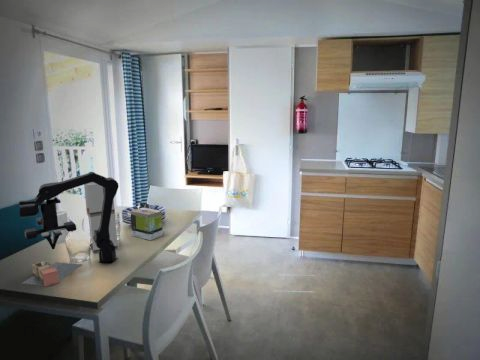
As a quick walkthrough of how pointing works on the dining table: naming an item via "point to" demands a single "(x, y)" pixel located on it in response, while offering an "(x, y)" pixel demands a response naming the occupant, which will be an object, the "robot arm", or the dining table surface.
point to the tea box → (146, 223)
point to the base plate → (61, 268)
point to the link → (40, 268)
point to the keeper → (50, 276)
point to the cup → (61, 220)
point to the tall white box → (98, 212)
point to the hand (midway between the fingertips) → (53, 248)
